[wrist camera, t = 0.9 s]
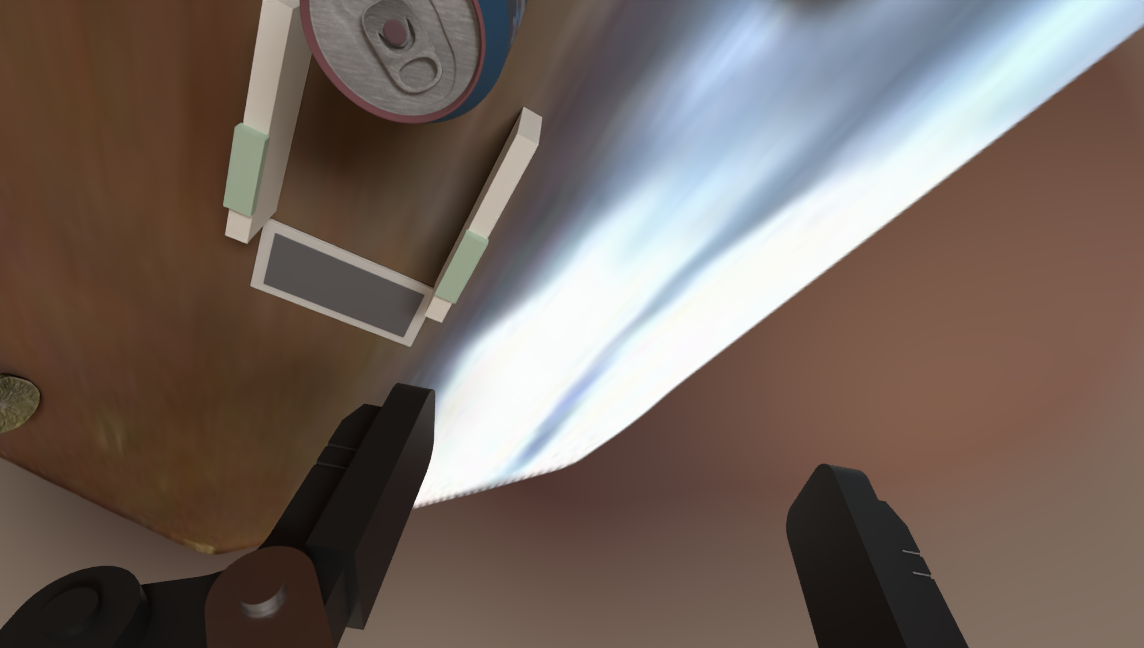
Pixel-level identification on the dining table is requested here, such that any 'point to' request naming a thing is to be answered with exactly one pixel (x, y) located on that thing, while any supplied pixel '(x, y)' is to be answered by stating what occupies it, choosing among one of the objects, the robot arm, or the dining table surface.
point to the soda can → (412, 52)
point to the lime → (16, 402)
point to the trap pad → (339, 283)
